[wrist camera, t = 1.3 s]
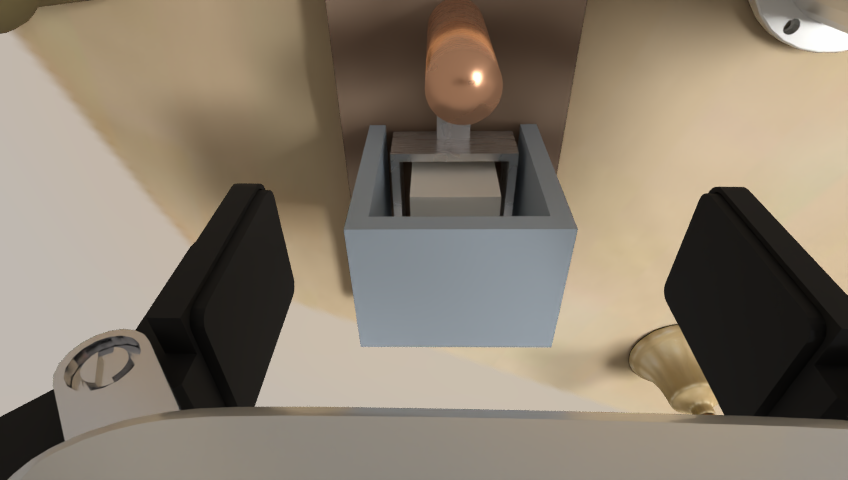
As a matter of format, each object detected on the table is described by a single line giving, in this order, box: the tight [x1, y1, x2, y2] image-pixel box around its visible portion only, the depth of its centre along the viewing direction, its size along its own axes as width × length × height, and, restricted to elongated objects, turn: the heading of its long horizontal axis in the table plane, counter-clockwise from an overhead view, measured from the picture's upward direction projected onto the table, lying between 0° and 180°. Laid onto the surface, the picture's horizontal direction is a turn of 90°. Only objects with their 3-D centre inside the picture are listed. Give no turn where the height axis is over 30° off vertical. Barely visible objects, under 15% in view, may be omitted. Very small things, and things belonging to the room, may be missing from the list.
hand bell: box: [629, 325, 718, 415], centre depth 41 cm, size 8×8×16 cm
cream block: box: [410, 161, 501, 217], centre depth 30 cm, size 5×5×6 cm
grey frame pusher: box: [390, 0, 519, 217], centre depth 26 cm, size 15×7×10 cm, turn 1°
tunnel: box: [344, 124, 578, 347], centre depth 28 cm, size 8×10×11 cm
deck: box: [325, 0, 587, 217], centre depth 31 cm, size 35×14×2 cm, turn 1°
